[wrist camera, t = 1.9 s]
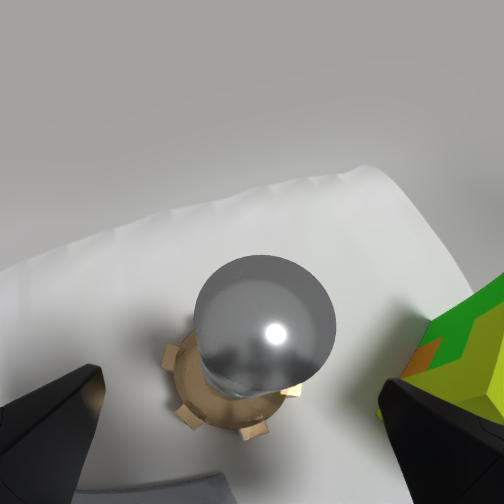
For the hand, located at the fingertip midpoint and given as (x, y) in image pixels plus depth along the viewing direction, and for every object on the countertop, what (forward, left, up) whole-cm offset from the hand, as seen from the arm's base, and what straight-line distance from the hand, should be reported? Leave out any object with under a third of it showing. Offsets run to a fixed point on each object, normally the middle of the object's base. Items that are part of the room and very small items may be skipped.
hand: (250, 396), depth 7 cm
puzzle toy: (-8, -16, -10) cm, 20 cm away
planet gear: (+1, -1, -9) cm, 10 cm away
